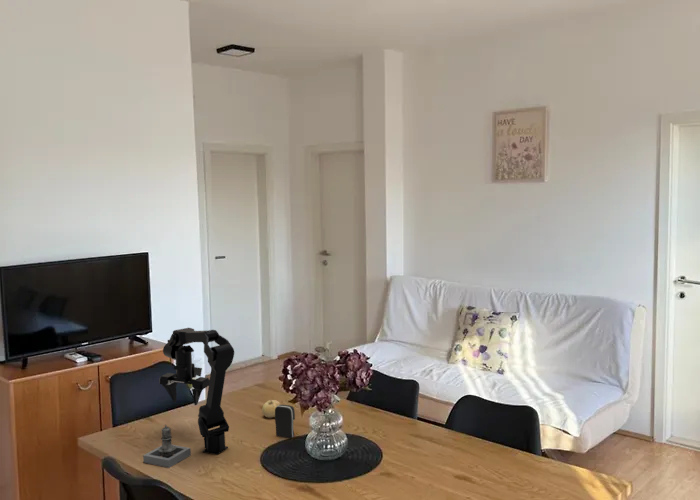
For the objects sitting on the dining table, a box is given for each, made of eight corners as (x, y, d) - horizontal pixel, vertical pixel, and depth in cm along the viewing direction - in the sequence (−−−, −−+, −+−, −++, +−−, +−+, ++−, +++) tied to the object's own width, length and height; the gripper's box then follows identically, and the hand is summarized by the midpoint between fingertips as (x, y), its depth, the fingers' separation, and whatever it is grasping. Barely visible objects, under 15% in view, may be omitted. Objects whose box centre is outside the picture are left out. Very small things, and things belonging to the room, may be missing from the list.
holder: (190, 455, 224) (190, 448, 223) (169, 467, 214) (168, 460, 214) (165, 450, 228) (165, 443, 228) (143, 462, 219) (143, 455, 218)
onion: (260, 414, 263) (260, 397, 262) (280, 411, 265) (279, 394, 265) (264, 420, 255) (263, 403, 255) (284, 418, 258) (283, 400, 257)
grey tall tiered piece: (173, 462, 218) (171, 427, 217) (156, 462, 218) (154, 428, 217) (178, 455, 224) (176, 421, 223) (161, 455, 224) (159, 421, 223)
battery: (296, 435, 239) (295, 404, 238) (292, 438, 236) (290, 408, 235) (280, 432, 242) (279, 402, 241) (275, 436, 239) (273, 406, 238)
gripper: (217, 358, 242) (219, 399, 244) (175, 354, 249) (177, 393, 251) (200, 367, 232) (202, 409, 234) (157, 362, 239) (159, 403, 241)
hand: (185, 403), depth 240 cm, fingers open, 9 cm apart
